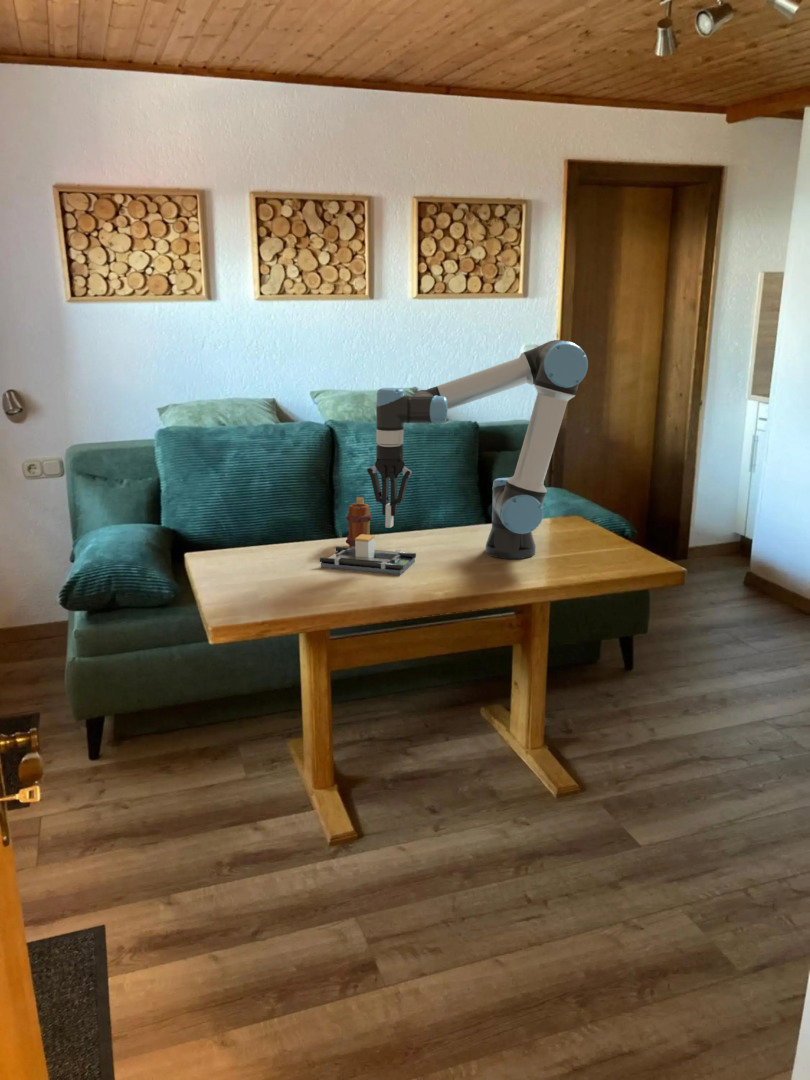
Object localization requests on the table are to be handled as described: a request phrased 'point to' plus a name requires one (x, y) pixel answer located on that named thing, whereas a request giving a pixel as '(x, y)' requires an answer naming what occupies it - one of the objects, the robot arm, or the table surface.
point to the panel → (369, 569)
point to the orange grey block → (364, 546)
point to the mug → (358, 520)
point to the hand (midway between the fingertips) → (389, 526)
